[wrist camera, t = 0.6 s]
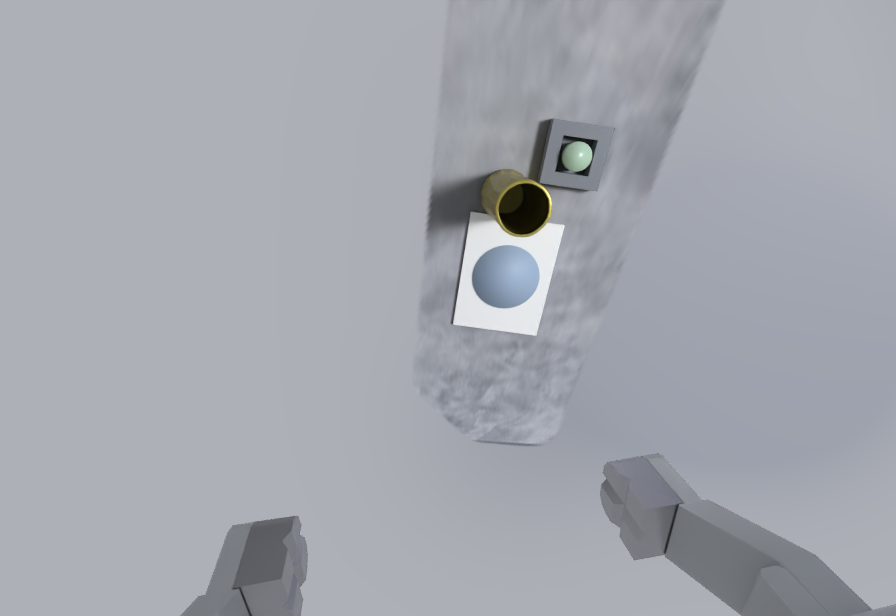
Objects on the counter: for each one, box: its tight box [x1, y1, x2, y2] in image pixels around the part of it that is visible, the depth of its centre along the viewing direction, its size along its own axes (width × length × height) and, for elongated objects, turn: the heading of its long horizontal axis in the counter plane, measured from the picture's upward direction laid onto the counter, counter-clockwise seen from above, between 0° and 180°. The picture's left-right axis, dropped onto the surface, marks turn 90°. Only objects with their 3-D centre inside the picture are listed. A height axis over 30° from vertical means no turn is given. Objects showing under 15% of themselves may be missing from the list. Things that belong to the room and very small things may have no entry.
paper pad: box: [453, 211, 565, 335], centre depth 55 cm, size 16×12×1 cm
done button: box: [561, 141, 592, 172], centre depth 47 cm, size 3×3×1 cm
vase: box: [481, 169, 552, 237], centre depth 44 cm, size 6×6×14 cm
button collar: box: [537, 119, 615, 191], centre depth 48 cm, size 7×7×2 cm
